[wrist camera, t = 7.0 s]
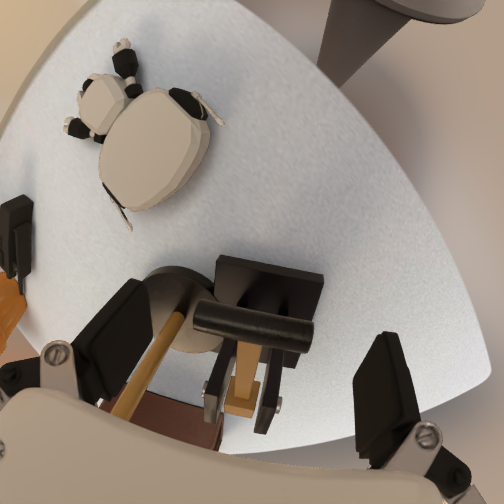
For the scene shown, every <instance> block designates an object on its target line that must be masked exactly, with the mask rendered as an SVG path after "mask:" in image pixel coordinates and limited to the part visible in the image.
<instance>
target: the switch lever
mask: <svg viewBox="0 0 504 504" xmlns="http://www.w3.org/2000/svg"><path fill="white" fill-rule="evenodd" d="M192 325H193V329H194V330H195V331H199V332H203V333H207V334H211V335H215V336H219V337H224V338H228V339H232V340H237V341H238V344H237V358H236V373H235V376H231V380H230V383H229V387H228V391H227V394H226V398H225V402H224V412H225V413H228V414H233V415H237V416H242V417H247V418H252V416H253V413H254V410H255V406H256V401H257V397H258V392H259V388H260V383H261V382H259V381H254V378H255V374H256V370H257V365H258V361H259V357H260V353H261V349H262V346H265V347H270V348H276V349H281V350H286V351H292V352H298V353H304V354H306V353H308V351H309V349H310V347H311V343H312V339H313V334H314V323H313V322H312V321H307V320H302V319H296V318H291V317H286V316H280V315H275V314H270V313H265V312H260V311H255V310H250V309H246V308H241V307H236V306H232V305H227V304H223V303H218V302H214V301H210V300H205V299H200V300H199V301H198V303H197V305H196V307H195V310H194V314H193V321H192Z"/></svg>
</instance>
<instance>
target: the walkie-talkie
mask: <svg viewBox="0 0 504 504" xmlns="http://www.w3.org/2000/svg"><path fill="white" fill-rule="evenodd" d="M32 206H33V203H32V202H31V201H30V200H29V199H28V198H27V197H26V196H25V195H20V196H18V197H16V198H14V199H11V200H9V201H7V202H5V203H3V204H1V205H0V266H1V268H2V269H3V270H4V271H5V272H6V277H7V278H8V279H12V278H13V277H15V276H16V274H18V285H19V294H20V295H23V278H24V277H26V276H27V275H28V274H30V273H31V261H32V256H31V217H32Z"/></svg>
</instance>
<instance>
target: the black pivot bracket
mask: <svg viewBox="0 0 504 504" xmlns="http://www.w3.org/2000/svg"><path fill="white" fill-rule="evenodd" d="M323 285H324V278H323V275H322V274H317V273H311V272H306V271H301V270H296V269H291V268H286V267H280V266H275V265H270V264H265V263H260V262H255V261H250V260H245V259H240V258H235V257H230V256H225V255H220V256H219V258H218V259H217V261H216V269H215V282H214V296H215V297H216V299H217V300H218V301H219V303H223V304H227V305H232V306H236V307H241V308H246V309H250V310H255V311H260V312H265V313H270V314H275V315H280V316H286V317H291V318H296V319H302V320H307V321H312V319H313V316H314V313H315V310H316V307H317V304H318V301H319V298H320V294H321V291H322V288H323ZM237 344H238V341H237V340H232V339H228V338H224V340H223V341H222V342H221V343H220V345H218V346H217V347H216V348H214V349H212V350H210V351H212V352H216V353H219V354H218V357H217V359H216V362H215V365H214V367H213V370H212V373H211V375H210V378H209V381H205V383H204V386H203V389H202V397H203V398H204V421H205V422H209V423H212V424H216V423H217V419H218V416H219V413H220V410H221V406H222V403H223V400H224V397H225V393H226V390H227V387H228V384H229V380H230V377H231V374H232V370H233V367H234V364H235V360H236V357H237ZM300 354H301V353H298V352H292V351H286V350H281V349H276V348H270V347H265V346H262V349H261V353H260V357H259V361H258V362H260V363H265V364H267V366H266V372H265V377H264V382H263V387H262V393H261V398H260V403H259V408H258V413H257V418H256V423H255V428H254V433H259V434H264V435H266V433H267V431H268V428H269V426H270V424H271V421H272V419H273V417H274V414H275V413H277V414H278V413H279V412H280V409H281V405H282V397H279V389H280V382H281V374H282V367H287V368H293V369H295V367H296V365H297V362H298V359H299V357H300Z"/></svg>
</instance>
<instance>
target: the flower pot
mask: <svg viewBox="0 0 504 504" xmlns="http://www.w3.org/2000/svg"><path fill="white" fill-rule="evenodd" d="M26 306H27V305H26V300H25V298H24V294H23V295H20V294H19V285H18V283H17V282H16V281H15V279H14V278H12V279H8V278H7V277H6V272H1V273H0V355H1V354H2V353H3V351H4V350H5V348H6V340H7V339H8V337H9V335H10V334H11V332H12V331H13V329H14V327H15V326H16V324H17V323H18V321H19V320H20V318H21V316H22V315H23V313H24V312H25V310H26Z"/></svg>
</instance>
